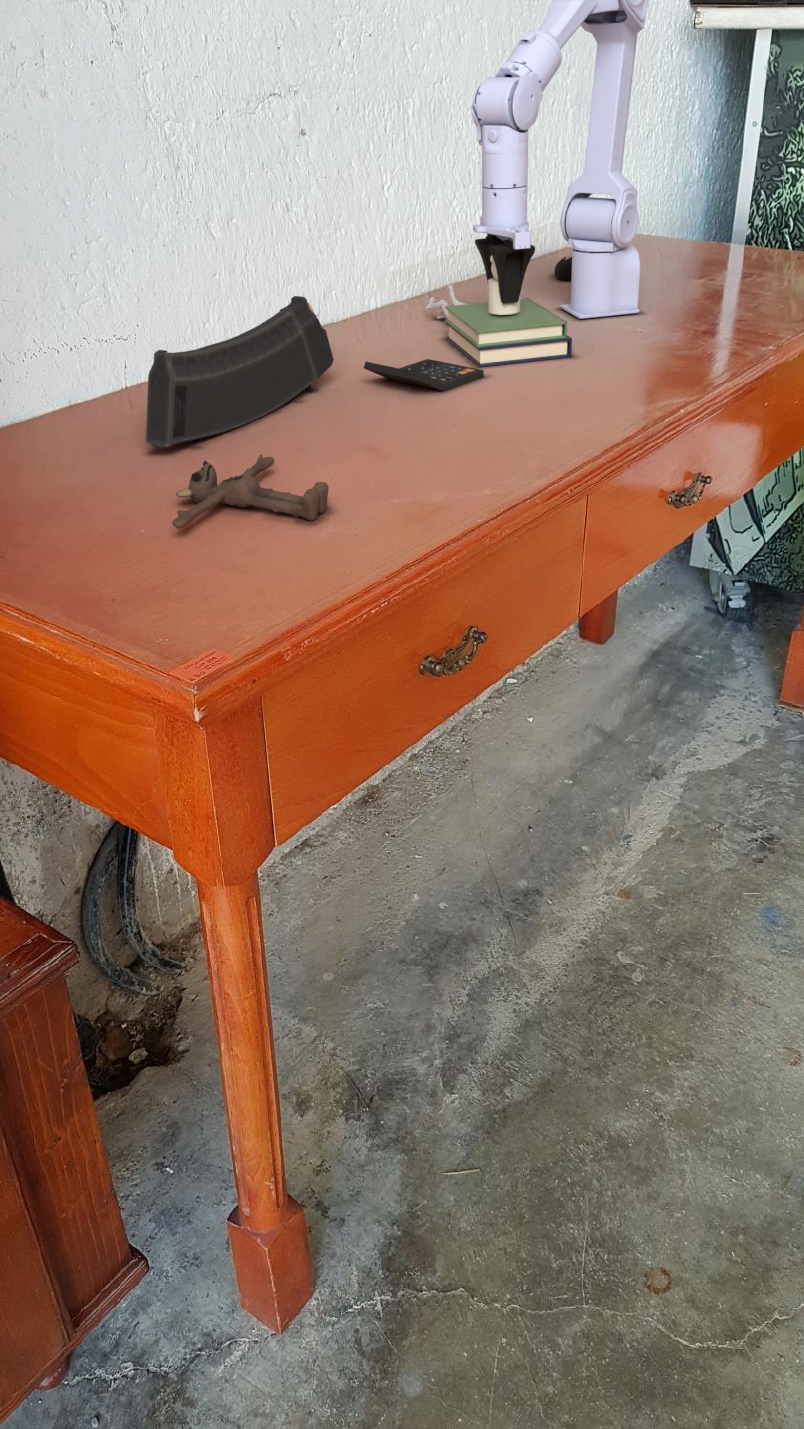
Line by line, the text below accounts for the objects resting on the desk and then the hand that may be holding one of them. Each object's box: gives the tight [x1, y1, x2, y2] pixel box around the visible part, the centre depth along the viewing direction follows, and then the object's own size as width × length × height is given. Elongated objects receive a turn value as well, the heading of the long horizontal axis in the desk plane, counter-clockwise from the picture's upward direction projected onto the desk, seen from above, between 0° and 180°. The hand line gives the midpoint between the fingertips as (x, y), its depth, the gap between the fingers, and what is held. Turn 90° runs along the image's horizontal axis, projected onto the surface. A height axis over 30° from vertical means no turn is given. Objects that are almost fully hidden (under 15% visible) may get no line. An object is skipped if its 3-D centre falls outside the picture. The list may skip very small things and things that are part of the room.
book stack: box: [444, 297, 573, 368], centre depth 153 cm, size 12×16×4 cm
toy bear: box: [487, 255, 521, 315], centre depth 149 cm, size 4×4×7 cm
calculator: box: [363, 358, 485, 392], centre depth 141 cm, size 9×12×3 cm
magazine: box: [145, 295, 334, 449], centre depth 129 cm, size 17×3×30 cm
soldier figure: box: [425, 283, 467, 320], centre depth 164 cm, size 8×5×12 cm
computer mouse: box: [554, 253, 572, 281], centre depth 190 cm, size 8×12×4 cm, turn 89°
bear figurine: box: [171, 454, 329, 529], centre depth 107 cm, size 18×4×14 cm
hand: (504, 298), depth 151 cm, fingers closed on toy bear, 4 cm apart
